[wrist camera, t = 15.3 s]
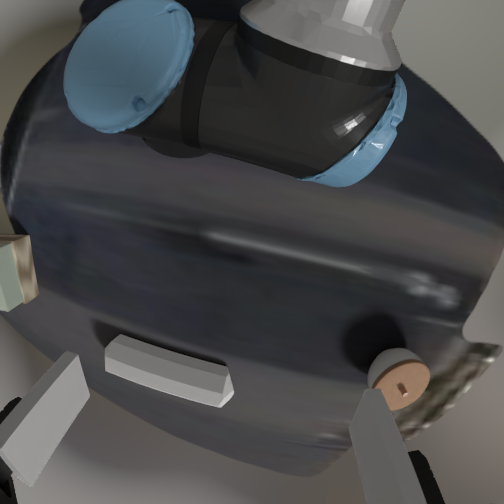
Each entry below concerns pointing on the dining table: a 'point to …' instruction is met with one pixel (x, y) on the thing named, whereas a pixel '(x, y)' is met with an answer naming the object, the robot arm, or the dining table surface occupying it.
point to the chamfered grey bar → (169, 371)
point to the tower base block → (23, 264)
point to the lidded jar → (398, 376)
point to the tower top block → (9, 279)
